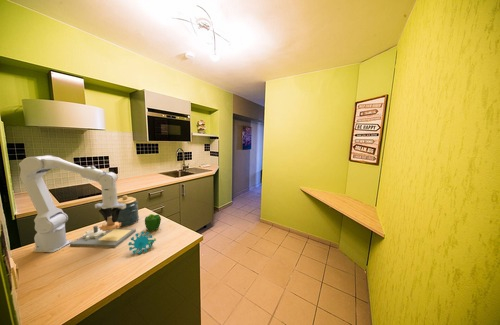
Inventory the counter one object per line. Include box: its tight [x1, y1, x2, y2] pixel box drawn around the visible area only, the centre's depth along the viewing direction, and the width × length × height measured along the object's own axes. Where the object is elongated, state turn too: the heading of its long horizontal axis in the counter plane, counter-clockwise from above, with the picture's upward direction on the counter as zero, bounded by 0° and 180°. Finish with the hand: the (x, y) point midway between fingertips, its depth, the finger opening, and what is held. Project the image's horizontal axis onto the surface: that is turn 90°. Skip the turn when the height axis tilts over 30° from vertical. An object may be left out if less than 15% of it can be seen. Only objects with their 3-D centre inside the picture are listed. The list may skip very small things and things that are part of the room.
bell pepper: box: [144, 213, 162, 232], centre depth 94 cm, size 8×8×10 cm
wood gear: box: [99, 216, 121, 231], centre depth 82 cm, size 8×8×6 cm
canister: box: [116, 194, 140, 228], centre depth 100 cm, size 13×13×18 cm
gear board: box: [69, 225, 137, 248], centre depth 84 cm, size 22×14×6 cm, turn 90°
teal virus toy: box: [127, 231, 157, 255], centre depth 78 cm, size 11×6×10 cm
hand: (111, 221), depth 83 cm, fingers closed on wood gear, 3 cm apart
